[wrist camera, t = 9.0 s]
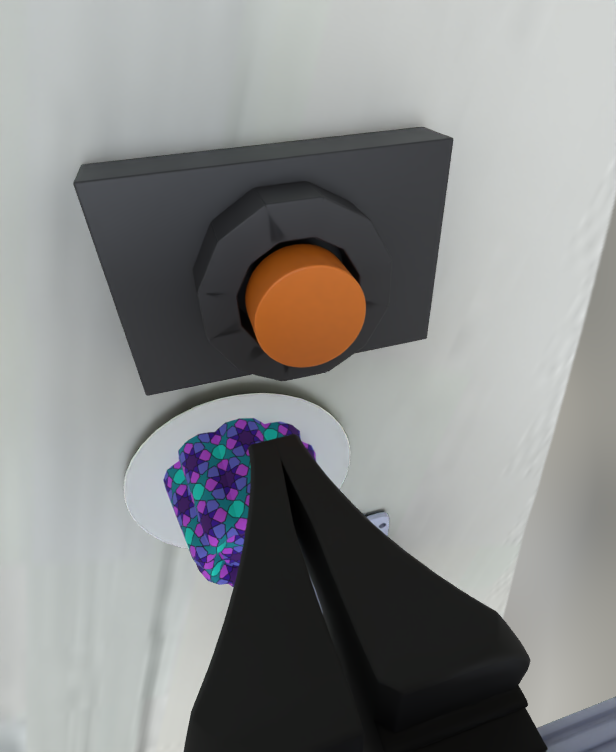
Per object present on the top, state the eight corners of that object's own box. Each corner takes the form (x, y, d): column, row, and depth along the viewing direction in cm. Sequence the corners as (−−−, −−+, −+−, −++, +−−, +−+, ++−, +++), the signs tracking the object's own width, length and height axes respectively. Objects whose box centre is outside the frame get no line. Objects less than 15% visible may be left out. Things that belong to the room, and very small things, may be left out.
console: (423, 126, 17) (485, 149, 14) (405, 314, 22) (447, 362, 19) (80, 164, 15) (63, 201, 12) (146, 364, 20) (146, 427, 17)
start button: (348, 235, 15) (368, 256, 13) (347, 330, 17) (365, 356, 16) (237, 252, 14) (247, 276, 13) (251, 348, 16) (261, 377, 15)
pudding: (123, 381, 20) (117, 472, 16) (371, 384, 24) (417, 456, 20) (124, 550, 26) (120, 645, 22) (319, 529, 31) (346, 606, 26)
